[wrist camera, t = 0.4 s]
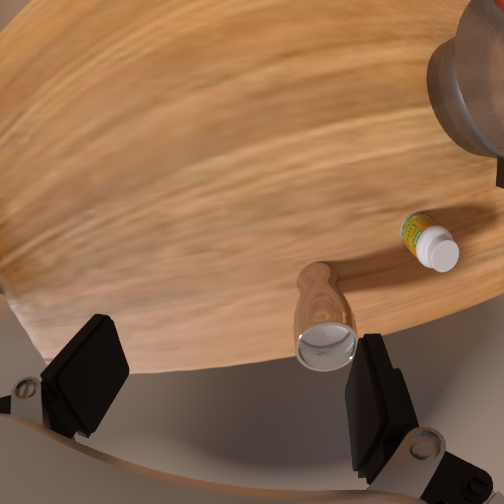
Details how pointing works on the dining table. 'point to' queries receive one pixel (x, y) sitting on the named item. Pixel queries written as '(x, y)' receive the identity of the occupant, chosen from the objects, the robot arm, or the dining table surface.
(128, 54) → the dining table surface
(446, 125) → the cooking pot
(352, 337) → the beer glass
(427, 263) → the supplement bottle
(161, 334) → the dining table surface
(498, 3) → the cooker lid
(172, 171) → the dining table surface
